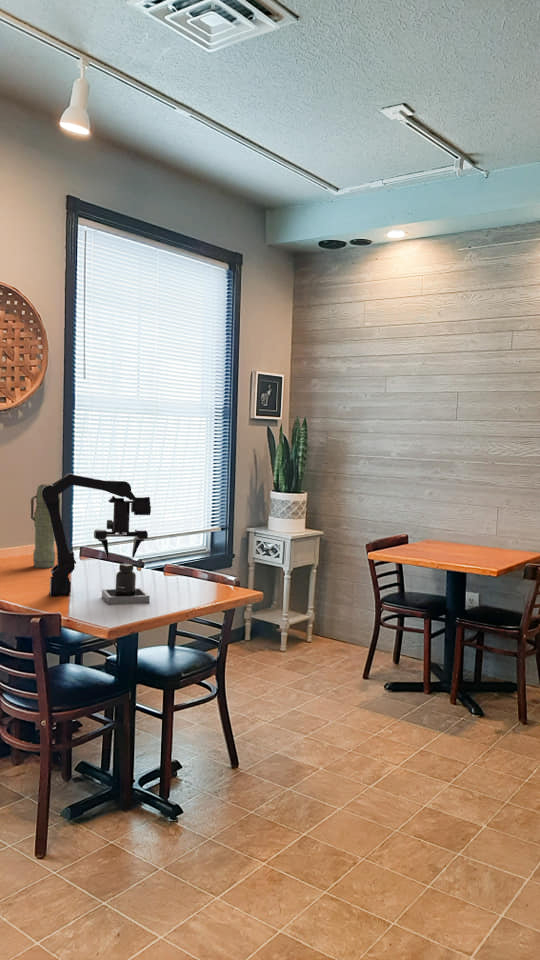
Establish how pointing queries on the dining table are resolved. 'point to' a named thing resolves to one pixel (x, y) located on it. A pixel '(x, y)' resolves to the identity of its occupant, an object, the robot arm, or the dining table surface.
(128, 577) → the supplement bottle
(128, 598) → the tray
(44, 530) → the thermos
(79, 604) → the dining table surface
